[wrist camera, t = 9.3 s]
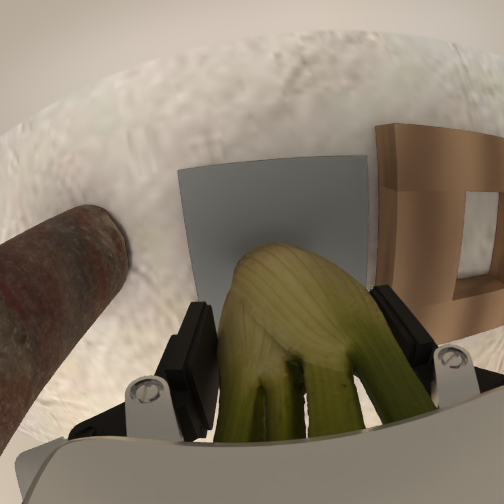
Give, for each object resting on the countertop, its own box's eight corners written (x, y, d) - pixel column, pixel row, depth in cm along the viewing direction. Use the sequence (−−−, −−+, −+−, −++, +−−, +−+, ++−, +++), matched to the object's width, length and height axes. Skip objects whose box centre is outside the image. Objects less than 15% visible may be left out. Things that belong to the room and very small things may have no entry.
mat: (363, 155, 17) (366, 155, 17) (360, 316, 21) (362, 320, 21) (179, 169, 18) (177, 170, 18) (206, 329, 22) (205, 333, 21)
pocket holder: (531, 147, 16) (552, 150, 13) (512, 302, 21) (528, 315, 18) (375, 126, 17) (394, 123, 14) (369, 335, 22) (381, 357, 19)
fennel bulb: (343, 239, 14) (491, 432, 3) (327, 322, 16) (391, 524, 5) (228, 230, 14) (150, 463, 3) (225, 316, 16) (187, 535, 5)
